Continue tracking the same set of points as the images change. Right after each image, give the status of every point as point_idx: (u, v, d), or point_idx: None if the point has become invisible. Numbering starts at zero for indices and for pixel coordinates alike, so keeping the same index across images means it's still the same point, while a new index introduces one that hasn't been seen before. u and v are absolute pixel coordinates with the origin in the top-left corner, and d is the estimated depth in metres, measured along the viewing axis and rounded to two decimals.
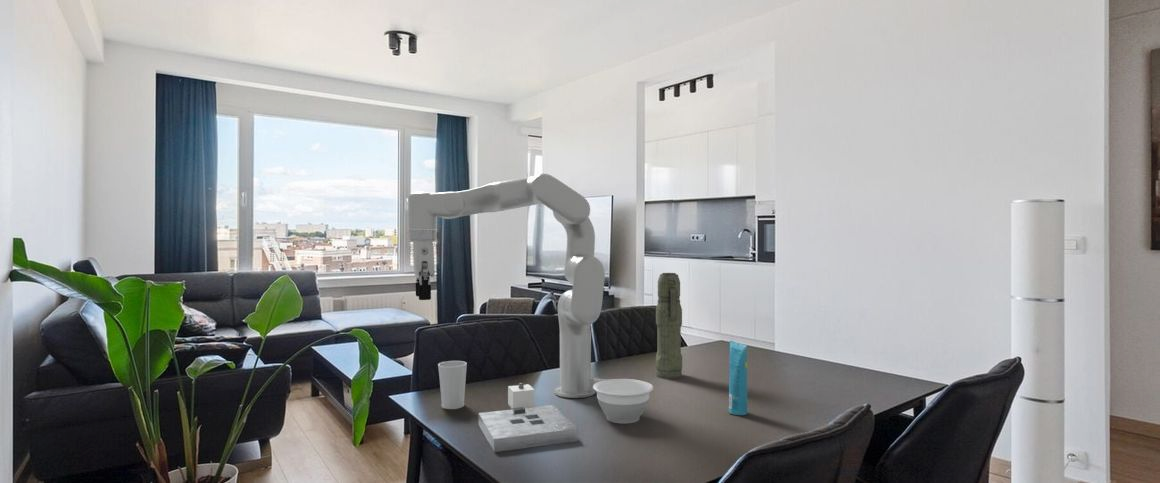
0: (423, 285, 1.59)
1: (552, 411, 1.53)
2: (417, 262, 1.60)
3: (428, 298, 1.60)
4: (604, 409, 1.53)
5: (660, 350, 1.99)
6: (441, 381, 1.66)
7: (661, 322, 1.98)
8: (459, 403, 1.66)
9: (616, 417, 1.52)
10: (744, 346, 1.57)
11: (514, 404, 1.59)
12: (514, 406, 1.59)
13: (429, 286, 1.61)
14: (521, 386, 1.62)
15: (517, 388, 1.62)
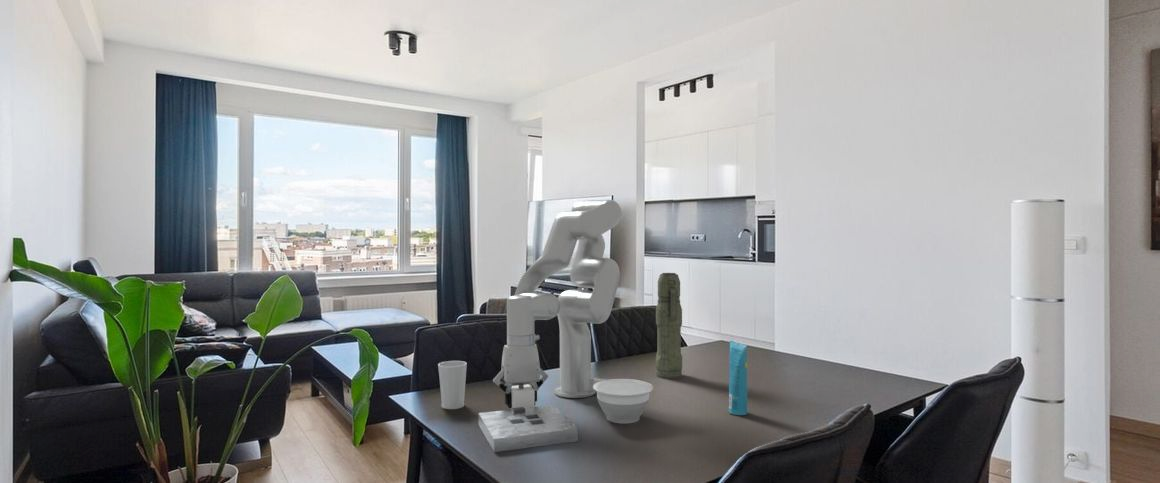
0: None
1: (552, 411, 1.53)
2: (539, 365, 1.62)
3: None
4: (604, 409, 1.53)
5: (660, 350, 1.99)
6: (441, 381, 1.66)
7: (661, 322, 1.98)
8: (459, 403, 1.66)
9: (616, 417, 1.52)
10: (744, 346, 1.57)
11: (514, 404, 1.59)
12: (514, 406, 1.59)
13: None
14: (521, 386, 1.62)
15: (517, 388, 1.62)
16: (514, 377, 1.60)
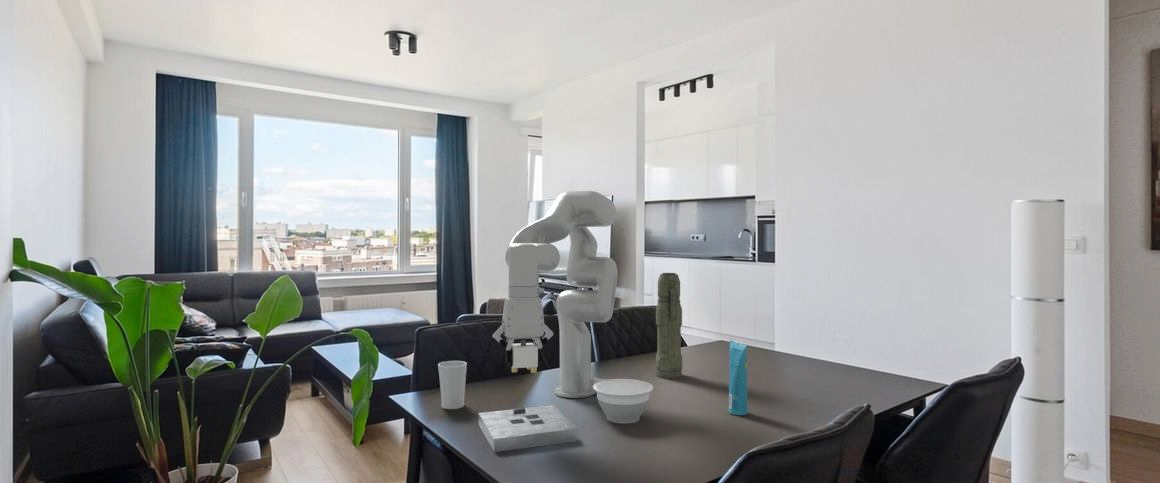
0: None
1: (552, 411, 1.53)
2: (543, 320, 1.48)
3: None
4: (604, 409, 1.53)
5: (660, 350, 1.99)
6: (441, 381, 1.66)
7: (661, 322, 1.98)
8: (459, 403, 1.66)
9: (616, 417, 1.52)
10: (744, 346, 1.57)
11: (515, 361, 1.45)
12: (515, 364, 1.45)
13: None
14: (523, 343, 1.48)
15: (519, 345, 1.48)
16: (516, 332, 1.45)
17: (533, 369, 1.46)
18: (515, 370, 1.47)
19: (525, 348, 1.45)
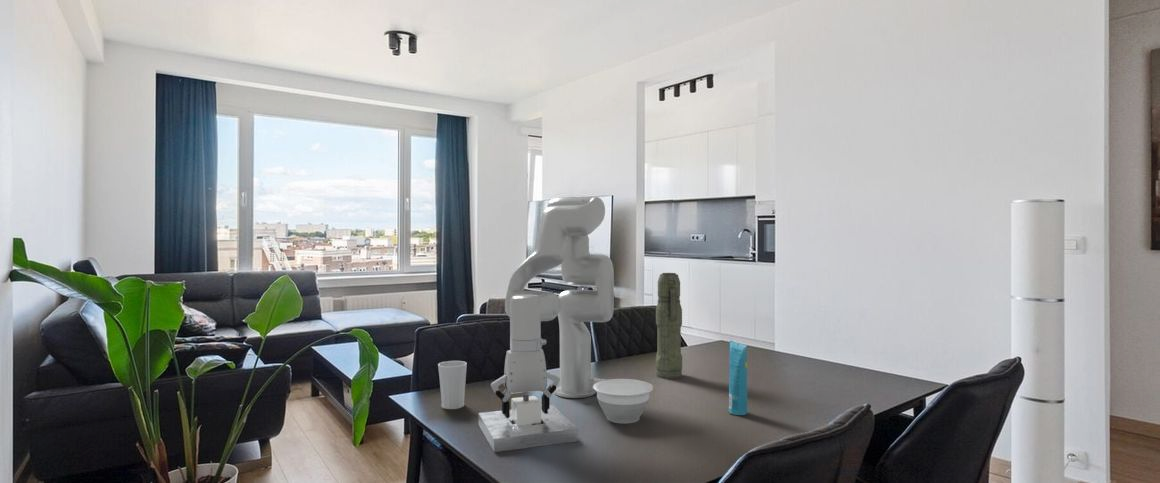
0: None
1: (552, 411, 1.53)
2: (546, 373, 1.45)
3: None
4: (604, 409, 1.53)
5: (660, 350, 1.99)
6: (441, 381, 1.66)
7: (661, 322, 1.98)
8: (459, 403, 1.66)
9: (616, 417, 1.52)
10: (744, 346, 1.57)
11: (518, 419, 1.42)
12: (518, 421, 1.42)
13: None
14: (526, 398, 1.45)
15: (521, 400, 1.45)
16: (518, 386, 1.43)
17: None
18: None
19: (528, 404, 1.43)
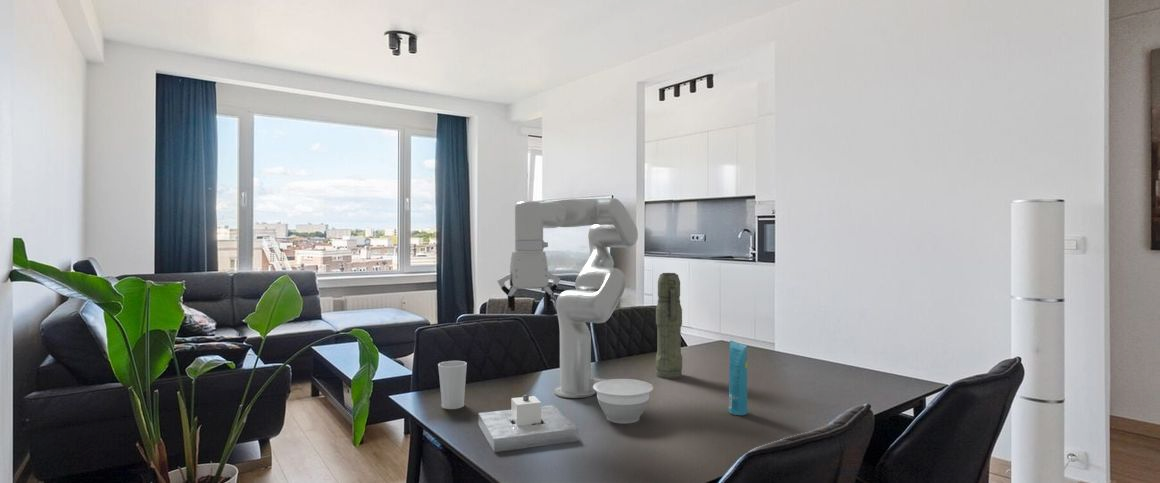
0: None
1: (552, 411, 1.53)
2: (547, 272, 1.61)
3: None
4: (604, 409, 1.53)
5: (660, 350, 1.99)
6: (441, 381, 1.66)
7: (661, 322, 1.98)
8: (459, 403, 1.66)
9: (616, 417, 1.52)
10: (744, 346, 1.57)
11: (518, 419, 1.42)
12: (518, 421, 1.42)
13: None
14: (526, 398, 1.45)
15: (521, 400, 1.45)
16: (522, 282, 1.58)
17: None
18: None
19: (528, 404, 1.43)
